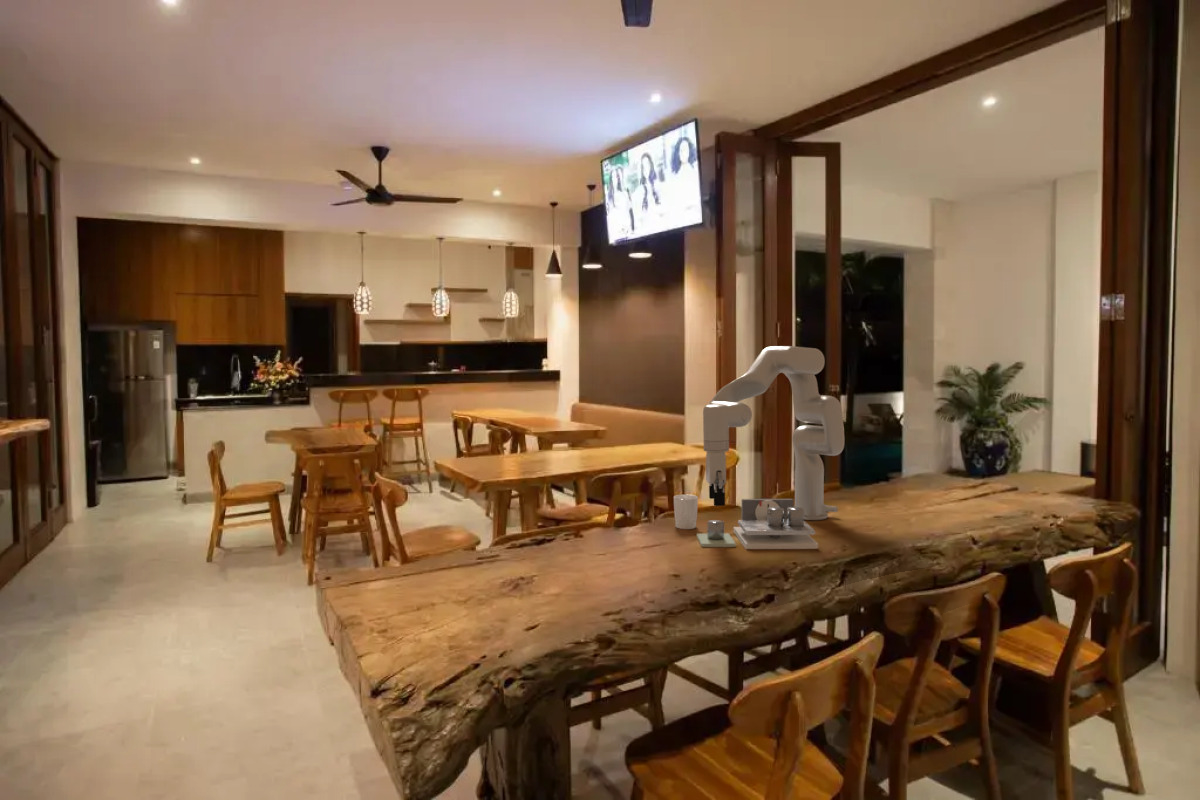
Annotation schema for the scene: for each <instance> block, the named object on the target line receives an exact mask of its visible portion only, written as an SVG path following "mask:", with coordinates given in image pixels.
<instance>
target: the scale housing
mask: <svg viewBox="0 0 1200 800" xmlns="http://www.w3.org/2000/svg"><path fill="white" fill-rule="evenodd" d="M769 507H780V508H784V520H787V508H788V507H794V499H792V498H741V515H740V516H741V518H740V520H767V508H769ZM732 530H733V533H734V534H735V536H736V537H737V539H738V541H739V542H740V543H741V545H742V546H743V547H744V549H745V550H812V549H813V550H815V549H817V550H818V549H819V542H817V541H816V540H814V538H813V537H811V535H746V534H745V532H744V531H743V530H742V528H741V527H740V526H733V527H732Z"/></svg>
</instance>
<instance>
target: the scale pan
mask: <svg viewBox="0 0 1200 800" xmlns="http://www.w3.org/2000/svg"><path fill="white" fill-rule="evenodd" d="M737 524H738V527H741V528H742V530H743V531H744V532H745V534H746V535H809V536H813V535H816V530H815V529H814V528H813V527H812V526H810V525H809V524H808V523H807V522H806V520H804V526H802V527H791V526H788V525H787V520H784V526H782V527H771V526H767V520H741V519H738V521H737Z"/></svg>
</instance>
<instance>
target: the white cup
mask: <svg viewBox="0 0 1200 800" xmlns="http://www.w3.org/2000/svg"><path fill="white" fill-rule="evenodd" d="M698 503H699V497H698V496H697V495H695V494H676V495H674V496H673V509H674V513H673V514H674V521H675V522H674V523H675V528H677V529H680V530H692V529H693V530H694V529H696V528H697V518H698V517H697V516H698V508H699V507H698Z"/></svg>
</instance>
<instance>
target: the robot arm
mask: <svg viewBox="0 0 1200 800" xmlns="http://www.w3.org/2000/svg"><path fill="white" fill-rule="evenodd" d="M825 363H826V362H825V355H824V354H823V351H821V350H820V349H818V348H815V347H814V348H813V347H805V346H794V345H793V346H792V345H779V346H778V345H773V346H772V345H771V346H767V347H765V348H764V349H762V350H761V352H760V353H759V354H758V355H757V357H756V358H755V360H754V361H753V363H752V364H751V365H750V366H749V368H748V369H747V370H746V372H745V373H744V374H743V375H742V376H740V377H738V378H736V379H734V380H733V381H731V382H729V383H727V384H726V385H724V386H723V387H722V388H720V389H719V390H718V391H717V393H716V394H715V395H714V396H713V397H712V399H711V400H710V402H709V404H707V405H705V406H704V407H703V409H702V410H703V411H702V416H703V417H702V419H703V421H702V426H703V428H702V429H703V452H706V454H705V480H706V482H707V483H708V492H709V494H708V496H709V499H710V500H712V499H713V506H714V507H723V506H726V495H725V494H726V493H725V485H726V482H727V465H726V464H727V463H726V457H727V456H726V453H727V452H729V451H730V435H729V433H730V432H729V430H730V428H742V427H745V426H747V425H748V424H749V423H750V422H751V421H752V417H753V412H752V410H751V408H750V406H749V405H748V404H746V403H743V402H741V401H743V400H746V399H747V400H748V399H751V398H754V397H756V396H757V397H758V396H760V395H762V394H765V392H767V390H768V389H769V387H770V386H771V385H772V383H773V381H774V380H775V379H776V378H777V376H778V375H779V374H781V373H782V374H784V375H785V377H786V378H788V380H789V382H790V386H791V393H792V402H793V411H794V415H795V419H796V421H797V420H798V421H800V422H801V423H809V424H810V425H809V424H808V425H807V424H805V425H804V424H803V425H800V426H798V427H796V429H794V431H793V433H792V439H791V440H792V445H793V452H794V466H795V467H794V470H795V471H794V507H800V508H804V521H821V520H822V521H823V520H827V519H828V518H829V515H828V513H829V512H831V513H833V512H834V513H835V512H836V513H837V512H838V510H839V509H838V506H837V505H829V504H828V505H827V504H825V503H824V484H825V483H824V482H825V481H824V476H825V466H824V462H823V460H822V458H821V455H822V456H823V455H824V456H830V457H831V456H832V457H835V456H839V455H840V454H841V453H842V452H843V450H844V448H845V439H846V438H845V428H844V418H843V417H844V414H843V409H842V408H843V407H842V405H841V403H840V401H839V400H838V398H836V397H835V396H832V395H823V394H822V395H821V394H820V393H819V386H818V381H817V377H816V376H815V375H818V374H819V373H820V372H822V370H823V369H824V368H825ZM811 424H818V425H811ZM819 424H820V425H819ZM821 424H822V426H821Z"/></svg>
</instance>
